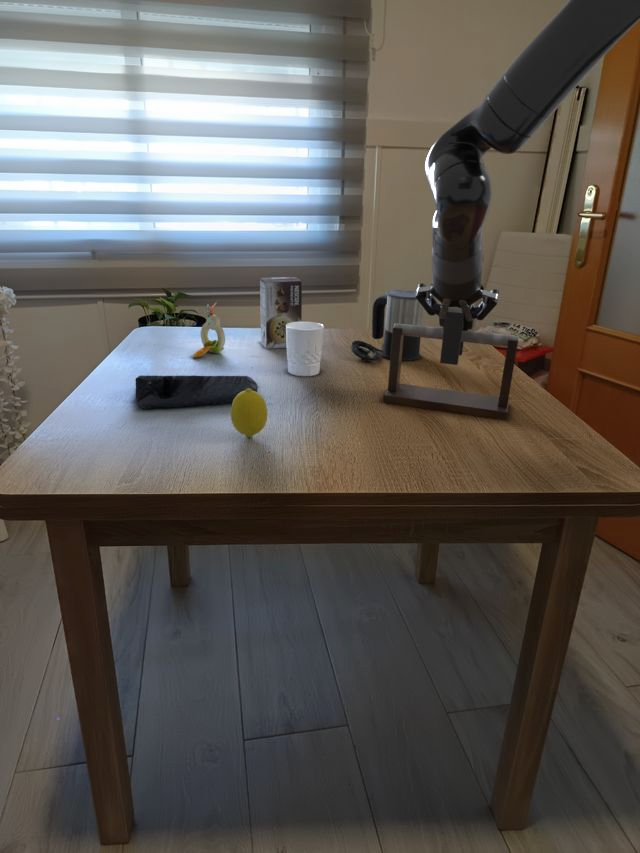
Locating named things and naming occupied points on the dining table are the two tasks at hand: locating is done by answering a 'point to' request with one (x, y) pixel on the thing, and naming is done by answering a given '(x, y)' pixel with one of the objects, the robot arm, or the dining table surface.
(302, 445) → the dining table surface
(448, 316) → the dark grey hook
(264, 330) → the coffee box
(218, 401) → the dark slate chunk
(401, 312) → the milk frother
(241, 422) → the lemon
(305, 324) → the white cup
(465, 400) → the rail stand
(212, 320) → the rattle
